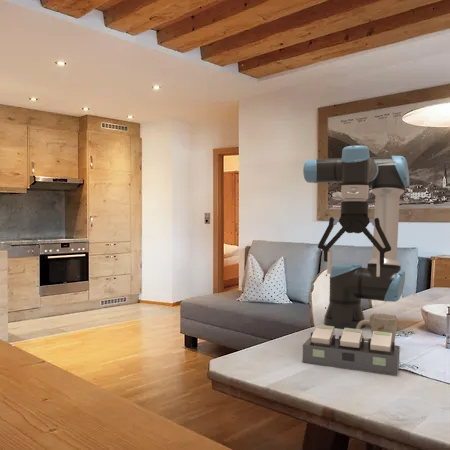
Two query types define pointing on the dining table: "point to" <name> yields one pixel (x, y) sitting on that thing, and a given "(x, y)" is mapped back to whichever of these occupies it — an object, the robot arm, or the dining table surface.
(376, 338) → the rocker
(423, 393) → the dining table surface
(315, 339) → the rocker
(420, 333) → the dining table surface
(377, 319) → the mug
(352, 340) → the rocker
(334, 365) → the console
